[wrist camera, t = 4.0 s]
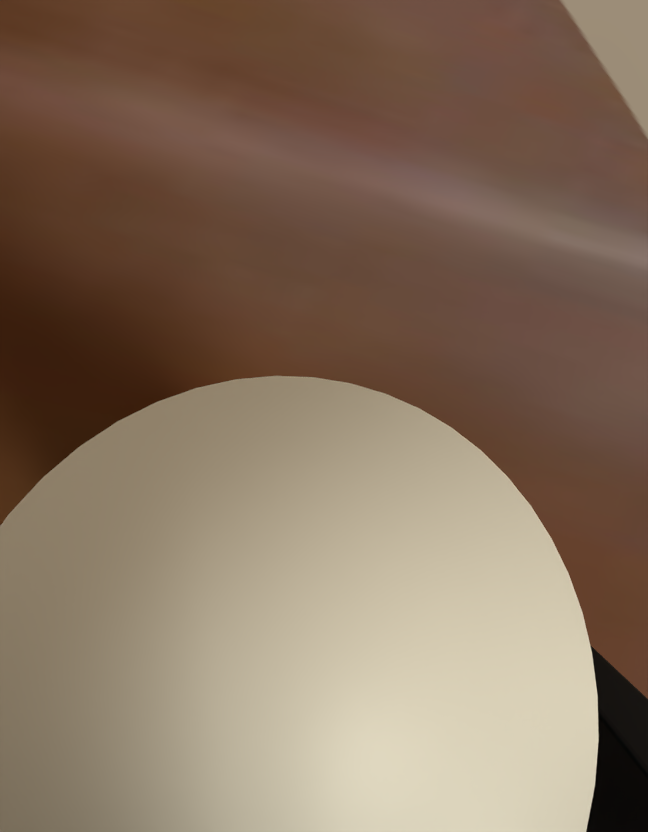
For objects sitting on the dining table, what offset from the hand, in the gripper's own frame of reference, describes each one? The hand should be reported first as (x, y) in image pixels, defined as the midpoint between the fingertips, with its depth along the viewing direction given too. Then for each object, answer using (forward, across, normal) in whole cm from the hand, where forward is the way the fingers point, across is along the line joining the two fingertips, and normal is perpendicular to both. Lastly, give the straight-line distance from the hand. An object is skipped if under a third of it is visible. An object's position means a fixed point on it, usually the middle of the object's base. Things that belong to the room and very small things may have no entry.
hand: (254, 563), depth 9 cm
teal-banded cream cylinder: (+5, 0, +6) cm, 7 cm away
